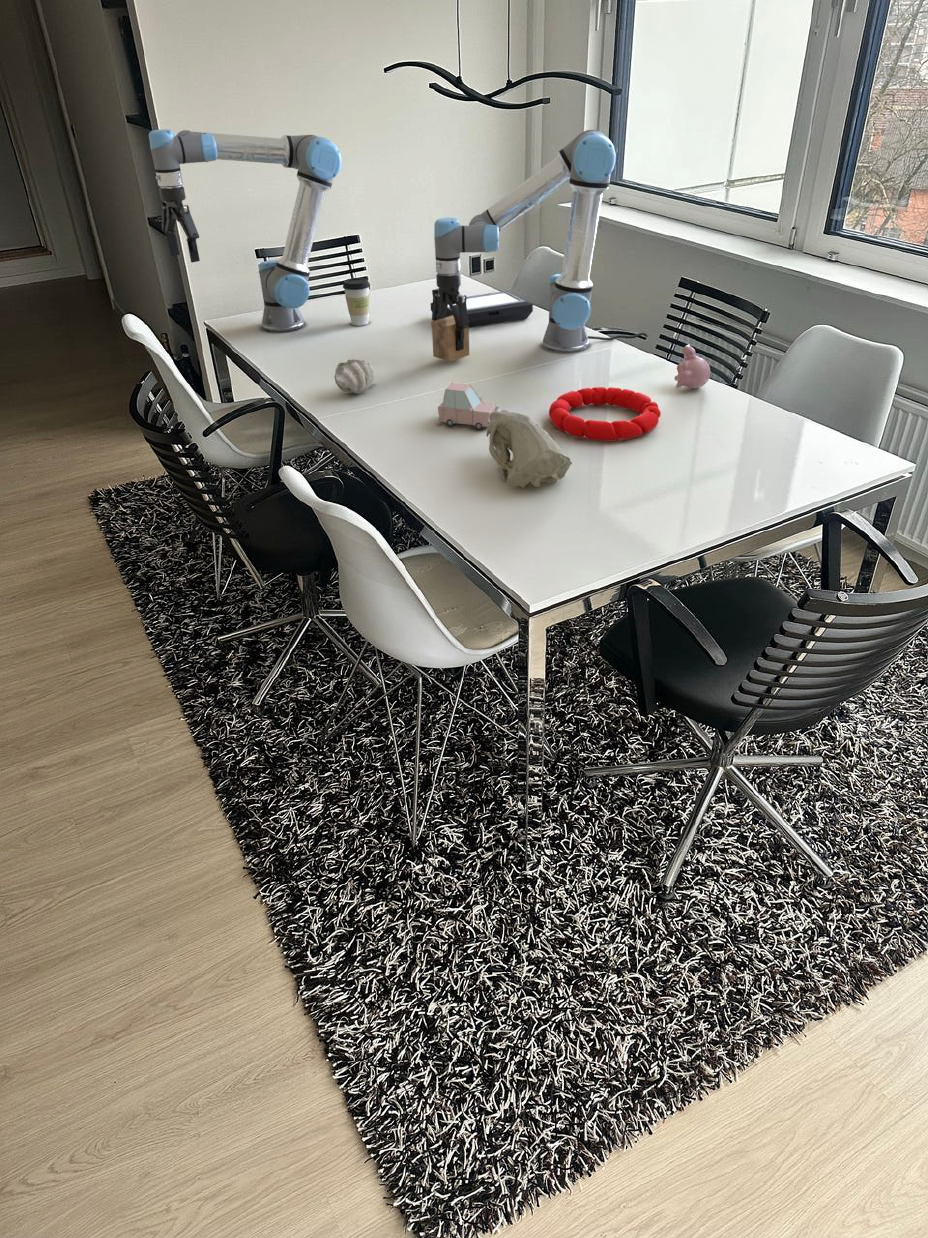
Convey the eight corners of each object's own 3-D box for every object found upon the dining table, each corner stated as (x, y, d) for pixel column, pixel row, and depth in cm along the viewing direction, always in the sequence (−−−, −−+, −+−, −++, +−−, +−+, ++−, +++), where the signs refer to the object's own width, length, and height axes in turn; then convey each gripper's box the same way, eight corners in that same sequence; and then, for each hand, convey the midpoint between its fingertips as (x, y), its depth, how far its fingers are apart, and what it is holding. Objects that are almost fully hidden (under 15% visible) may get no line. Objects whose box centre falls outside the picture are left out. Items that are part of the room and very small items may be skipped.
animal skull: (496, 517, 219) (521, 479, 201) (463, 429, 225) (484, 384, 207) (557, 503, 225) (586, 465, 206) (523, 417, 231) (549, 373, 212)
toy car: (488, 432, 240) (488, 396, 234) (436, 426, 244) (434, 390, 239) (499, 419, 247) (499, 384, 241) (448, 413, 252) (447, 379, 246)
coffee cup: (372, 326, 323) (368, 283, 314) (345, 327, 323) (340, 284, 315) (374, 318, 331) (371, 276, 322) (348, 319, 331) (344, 277, 323)
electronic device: (452, 314, 311) (430, 300, 326) (452, 332, 314) (431, 318, 330) (532, 301, 321) (508, 289, 336) (532, 319, 325) (508, 305, 340)
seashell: (327, 392, 269) (323, 359, 263) (372, 382, 274) (369, 350, 269) (340, 402, 261) (336, 369, 255) (386, 392, 267) (383, 359, 261)
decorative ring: (589, 435, 224) (684, 402, 234) (527, 398, 247) (617, 369, 256) (589, 461, 229) (683, 427, 238) (529, 422, 251) (617, 393, 260)
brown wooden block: (433, 356, 288) (431, 321, 282) (453, 349, 293) (452, 315, 287) (448, 361, 284) (447, 326, 277) (469, 354, 289) (468, 319, 282)
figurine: (665, 387, 264) (669, 347, 257) (693, 380, 268) (698, 340, 261) (686, 396, 257) (690, 355, 250) (714, 388, 262) (720, 348, 255)
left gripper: (141, 183, 282) (156, 254, 294) (179, 192, 267) (193, 266, 279) (163, 180, 286) (177, 250, 298) (201, 188, 271) (214, 262, 283)
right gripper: (417, 269, 278) (421, 342, 291) (461, 280, 266) (464, 356, 279) (435, 265, 282) (438, 337, 295) (480, 276, 270) (481, 350, 283)
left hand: (185, 258), depth 289 cm, fingers open, 13 cm apart
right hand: (451, 346), depth 287 cm, fingers closed on brown wooden block, 8 cm apart
